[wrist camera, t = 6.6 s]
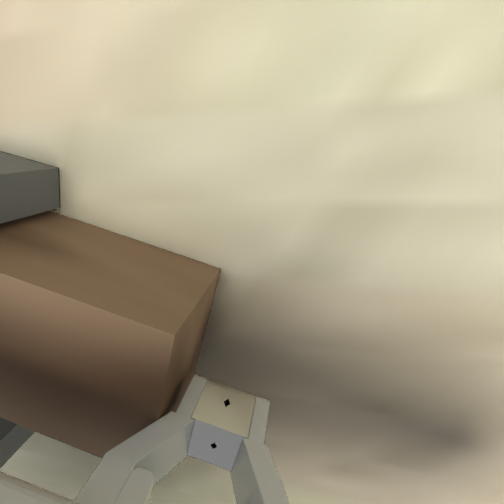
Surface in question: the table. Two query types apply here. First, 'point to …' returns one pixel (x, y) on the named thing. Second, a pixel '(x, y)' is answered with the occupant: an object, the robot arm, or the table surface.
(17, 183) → the channel walls
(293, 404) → the table surface
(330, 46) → the table surface
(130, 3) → the table surface
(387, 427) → the table surface
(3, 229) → the walnut block
